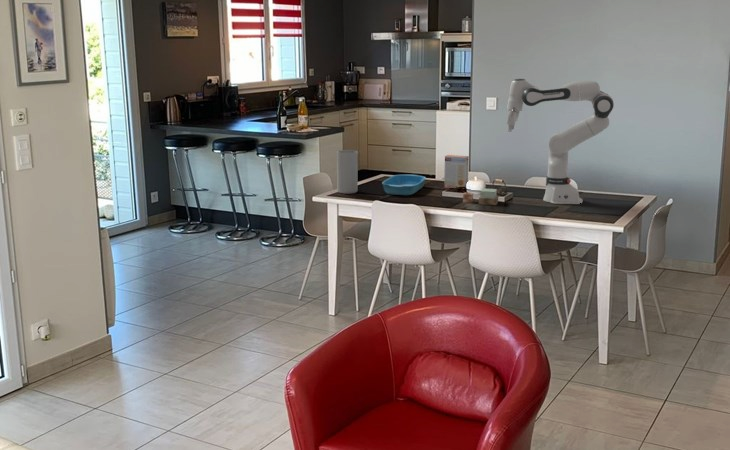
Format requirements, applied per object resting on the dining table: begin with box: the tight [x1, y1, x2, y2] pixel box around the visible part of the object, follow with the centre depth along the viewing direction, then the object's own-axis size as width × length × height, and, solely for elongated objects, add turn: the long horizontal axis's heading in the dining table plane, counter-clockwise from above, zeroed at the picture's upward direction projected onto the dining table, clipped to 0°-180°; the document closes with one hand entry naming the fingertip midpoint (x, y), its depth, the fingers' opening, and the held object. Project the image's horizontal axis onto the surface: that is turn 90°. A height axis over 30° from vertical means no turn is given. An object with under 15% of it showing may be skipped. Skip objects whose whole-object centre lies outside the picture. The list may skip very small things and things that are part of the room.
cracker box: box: [443, 154, 470, 190], centre depth 501 cm, size 14×6×21 cm, turn 65°
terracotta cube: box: [462, 192, 474, 204], centre depth 467 cm, size 5×5×5 cm
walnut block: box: [478, 195, 499, 206], centre depth 464 cm, size 10×10×4 cm
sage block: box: [480, 188, 498, 199], centre depth 463 cm, size 8×8×4 cm
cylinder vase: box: [336, 149, 359, 195], centre depth 491 cm, size 12×12×25 cm
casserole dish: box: [381, 174, 427, 196], centre depth 497 cm, size 37×22×7 cm, turn 160°
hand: (510, 130), depth 466 cm, fingers open, 8 cm apart
